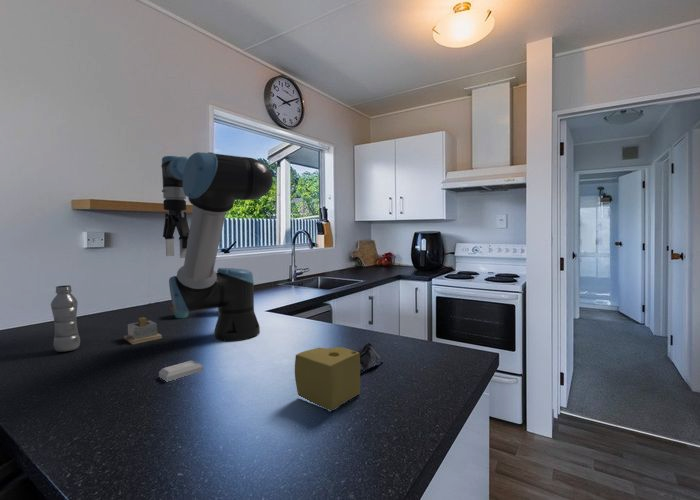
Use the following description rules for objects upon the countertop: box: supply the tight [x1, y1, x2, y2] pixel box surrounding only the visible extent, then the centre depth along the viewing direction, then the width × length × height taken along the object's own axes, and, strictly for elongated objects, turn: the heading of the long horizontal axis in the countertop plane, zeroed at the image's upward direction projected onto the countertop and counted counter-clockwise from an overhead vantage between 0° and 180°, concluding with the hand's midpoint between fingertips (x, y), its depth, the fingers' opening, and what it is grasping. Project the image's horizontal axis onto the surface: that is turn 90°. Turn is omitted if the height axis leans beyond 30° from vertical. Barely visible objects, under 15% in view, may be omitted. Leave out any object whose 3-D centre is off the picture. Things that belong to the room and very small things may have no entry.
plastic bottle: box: [50, 284, 81, 353], centre depth 110 cm, size 6×7×20 cm
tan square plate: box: [123, 316, 163, 345], centre depth 122 cm, size 9×9×7 cm
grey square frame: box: [127, 319, 158, 340], centre depth 122 cm, size 7×7×4 cm
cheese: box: [294, 346, 361, 410], centre depth 78 cm, size 10×11×10 cm
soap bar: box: [158, 359, 204, 383], centre depth 91 cm, size 5×9×3 cm, turn 138°
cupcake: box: [170, 303, 190, 319], centre depth 151 cm, size 9×8×12 cm
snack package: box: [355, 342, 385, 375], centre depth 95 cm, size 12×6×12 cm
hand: (177, 256), depth 134 cm, fingers open, 13 cm apart
